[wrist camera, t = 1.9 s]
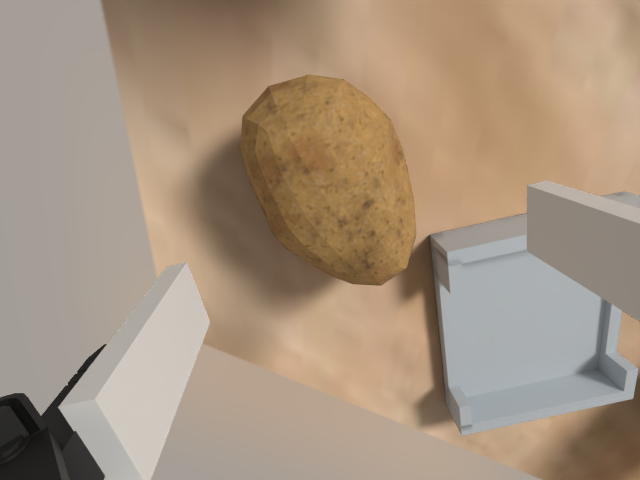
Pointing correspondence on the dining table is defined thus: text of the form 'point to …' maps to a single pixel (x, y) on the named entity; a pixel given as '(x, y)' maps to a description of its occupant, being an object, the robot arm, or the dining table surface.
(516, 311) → the light blue shallow tray
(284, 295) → the dining table surface
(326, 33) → the dining table surface
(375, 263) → the potato
